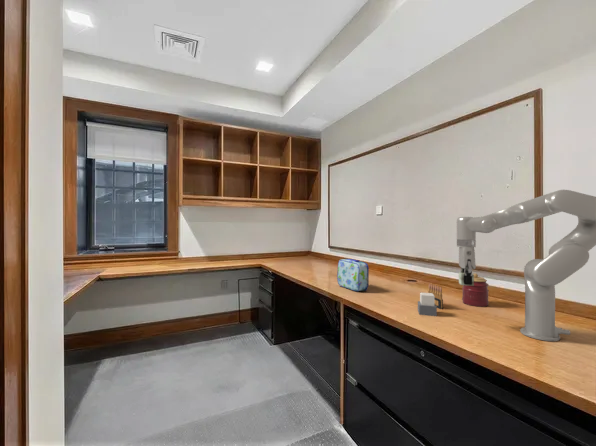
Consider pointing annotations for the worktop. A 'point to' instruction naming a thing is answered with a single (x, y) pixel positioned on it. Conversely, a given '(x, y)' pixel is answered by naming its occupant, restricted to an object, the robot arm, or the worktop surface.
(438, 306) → the ammunition clip
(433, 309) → the tower base
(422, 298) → the tower top
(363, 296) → the worktop surface
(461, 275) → the sage block
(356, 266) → the lunch box
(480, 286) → the canister
